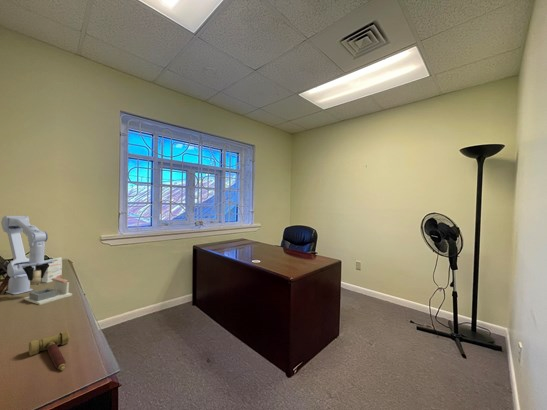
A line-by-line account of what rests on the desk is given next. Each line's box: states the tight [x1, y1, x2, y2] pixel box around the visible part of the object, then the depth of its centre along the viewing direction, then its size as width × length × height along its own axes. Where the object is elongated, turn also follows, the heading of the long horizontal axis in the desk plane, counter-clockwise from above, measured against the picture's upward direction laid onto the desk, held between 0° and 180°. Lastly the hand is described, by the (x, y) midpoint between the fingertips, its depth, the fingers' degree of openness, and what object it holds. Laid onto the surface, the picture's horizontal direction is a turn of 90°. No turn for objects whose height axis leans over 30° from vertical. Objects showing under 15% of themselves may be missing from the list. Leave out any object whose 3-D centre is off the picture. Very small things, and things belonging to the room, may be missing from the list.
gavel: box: [28, 330, 70, 371], centre depth 79 cm, size 21×5×10 cm
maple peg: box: [30, 269, 42, 286], centre depth 127 cm, size 4×4×7 cm
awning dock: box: [23, 277, 73, 306], centre depth 126 cm, size 14×14×8 cm
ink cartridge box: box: [41, 256, 63, 283], centre depth 152 cm, size 9×5×15 cm, turn 168°
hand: (35, 279), depth 127 cm, fingers closed on maple peg, 4 cm apart
